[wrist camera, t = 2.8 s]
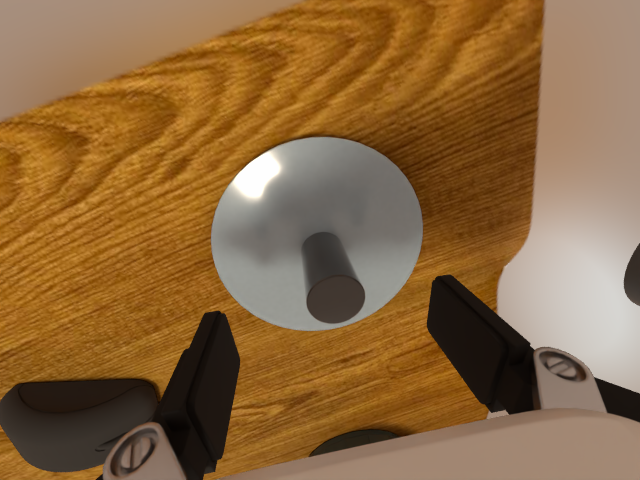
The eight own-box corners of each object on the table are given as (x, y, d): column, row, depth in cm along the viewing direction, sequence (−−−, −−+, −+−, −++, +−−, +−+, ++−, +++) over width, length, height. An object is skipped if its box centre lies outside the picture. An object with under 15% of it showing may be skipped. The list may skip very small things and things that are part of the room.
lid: (424, 125, 15) (512, 121, 9) (408, 306, 22) (455, 375, 16) (186, 148, 14) (112, 162, 8) (242, 333, 21) (222, 417, 15)
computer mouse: (165, 421, 24) (143, 473, 20) (32, 429, 22) (-17, 488, 19) (154, 378, 21) (127, 428, 18) (4, 383, 20) (-60, 440, 16)
